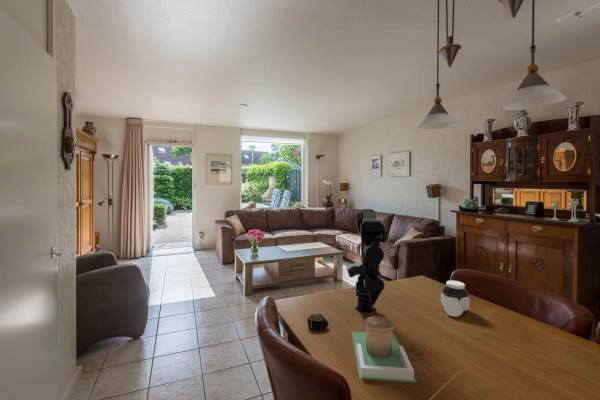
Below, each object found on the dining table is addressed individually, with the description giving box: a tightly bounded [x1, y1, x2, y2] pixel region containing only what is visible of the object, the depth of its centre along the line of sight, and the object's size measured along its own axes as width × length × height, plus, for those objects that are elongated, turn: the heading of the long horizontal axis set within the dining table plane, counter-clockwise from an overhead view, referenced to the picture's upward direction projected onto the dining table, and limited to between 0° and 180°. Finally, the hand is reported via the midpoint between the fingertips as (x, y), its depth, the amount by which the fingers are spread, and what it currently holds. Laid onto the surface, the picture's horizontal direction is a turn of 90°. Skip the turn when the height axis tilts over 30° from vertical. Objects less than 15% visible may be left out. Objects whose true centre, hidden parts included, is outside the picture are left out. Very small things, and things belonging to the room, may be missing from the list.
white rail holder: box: [357, 343, 415, 380], centre depth 83 cm, size 12×14×2 cm
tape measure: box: [307, 313, 329, 331], centre depth 106 cm, size 7×7×4 cm
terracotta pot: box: [365, 315, 395, 358], centre depth 90 cm, size 8×8×9 cm
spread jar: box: [440, 280, 470, 317], centre depth 119 cm, size 12×11×12 cm
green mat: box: [351, 331, 418, 383], centre depth 89 cm, size 25×15×1 cm, turn 174°
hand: (370, 299), depth 102 cm, fingers open, 9 cm apart
